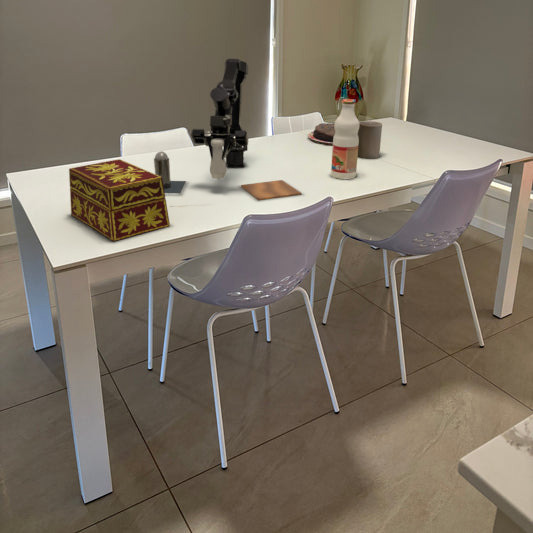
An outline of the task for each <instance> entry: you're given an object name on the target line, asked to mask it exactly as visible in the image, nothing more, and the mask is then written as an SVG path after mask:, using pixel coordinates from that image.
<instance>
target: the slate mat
mask: <svg viewBox="0 0 533 533" xmlns="http://www.w3.org/2000/svg"><path fill="white" fill-rule="evenodd" d="M186 183H187V181H186V180H171V187H170V188H167V189H164V192H165V194H180V195H181V192H182V190H183V189H184V187H185V185H186Z"/></svg>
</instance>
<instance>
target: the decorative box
mask: <svg viewBox="0 0 533 533" xmlns="http://www.w3.org/2000/svg"><path fill="white" fill-rule="evenodd" d="M68 175H69V176H68V179H69V180H68V181H69V197H70V198H69V199H70V215H72V217H74V218H76V219H77V220H79V221H81V222H82V223H84V224H86V225H87V226H89V227H90V228H92V229H93V230H95V231H97V232H98V233H100V234H101V235H103V236H104V237H106V238H107V239H109V240H111V241H113V242H115V241H119V240H123V239H127V238H130V237H134V236H138V235H142V234H145V233H149V232H153V231H156V230H159V229H164V228H167V227H170V225H171V223H170V217H169V210H168V205H167V200H166V199H167V198H166V193H165V192H164V186H163V180H162V177H160V176H158V175H156V174H155V173H154V172H151V171H150V170H149V171H148V170H147V169H144V168H141V167H140V166H137V165H134V164H132V163H130V162H127V161H125V160H122V159H119V158H117V159H113V160H108V161H102V162H96V163H92V164H86V165H82V166H81V165H79V166H75V167H70V168H68Z"/></svg>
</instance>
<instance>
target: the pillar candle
mask: <svg viewBox="0 0 533 533" xmlns="http://www.w3.org/2000/svg"><path fill="white" fill-rule="evenodd" d="M359 124H360V126H359V130H358V137H359V145H358V157H357V158H360V159H367V160H368V159H369V160H371V159H377V158H380V152H381V142H382V130H383V123H382V122H379V121H375V120H371V119H370V120H362V121H359Z"/></svg>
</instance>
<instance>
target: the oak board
mask: <svg viewBox="0 0 533 533" xmlns="http://www.w3.org/2000/svg"><path fill="white" fill-rule="evenodd" d="M240 187H241V188H242V189H243V190H245V191H246V192H247V193H249V194H250V195H251V196H252V197H254V198H255V199H256V200H257V201H265V200H271V199H279V198H286V197H293V196H294V197H295V196H300V195H302V192H301V191H300V190H298V189H296V188H295V187H293V186H292V185H290V184H289V183H287V182H286V181H284V180H282V179H281V180H280V179H279V180H272V181H271V180H270V181H264V182H256V183H255V182H254V183H247V184H240Z"/></svg>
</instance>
